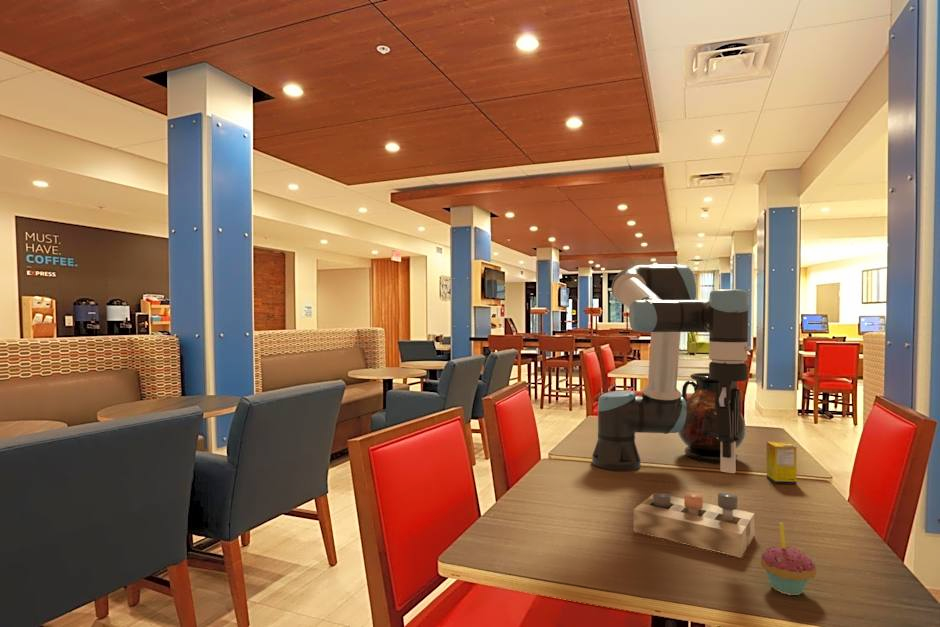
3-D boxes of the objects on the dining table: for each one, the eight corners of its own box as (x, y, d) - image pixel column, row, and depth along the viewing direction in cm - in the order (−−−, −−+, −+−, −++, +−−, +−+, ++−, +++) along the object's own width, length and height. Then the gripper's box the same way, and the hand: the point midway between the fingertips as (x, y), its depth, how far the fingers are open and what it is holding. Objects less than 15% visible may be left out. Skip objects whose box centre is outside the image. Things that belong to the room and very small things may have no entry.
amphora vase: (754, 456, 185) (754, 374, 185) (733, 470, 169) (734, 380, 169) (690, 446, 199) (690, 370, 199) (666, 457, 184) (666, 375, 184)
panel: (633, 531, 122) (633, 509, 122) (654, 513, 133) (654, 492, 133) (741, 559, 108) (741, 534, 108) (754, 535, 119) (754, 513, 119)
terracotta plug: (682, 518, 120) (682, 496, 120) (687, 513, 123) (687, 491, 123) (700, 522, 118) (700, 499, 118) (704, 517, 121) (704, 495, 121)
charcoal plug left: (650, 518, 124) (650, 496, 124) (656, 513, 127) (656, 491, 127) (667, 521, 122) (667, 499, 122) (672, 516, 125) (672, 495, 125)
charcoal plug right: (716, 519, 116) (716, 496, 116) (720, 514, 119) (720, 491, 119) (735, 523, 114) (735, 499, 114) (739, 518, 117) (739, 494, 117)
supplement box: (786, 478, 161) (787, 441, 161) (797, 484, 155) (797, 446, 155) (765, 477, 162) (766, 441, 162) (775, 484, 156) (775, 446, 156)
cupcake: (750, 578, 100) (750, 514, 100) (793, 576, 101) (793, 512, 101) (781, 603, 92) (781, 532, 92) (827, 601, 93) (828, 530, 93)
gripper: (741, 364, 109) (740, 482, 109) (753, 360, 119) (753, 467, 119) (701, 362, 113) (701, 475, 113) (716, 358, 124) (716, 462, 124)
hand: (728, 471), depth 116 cm, fingers closed
